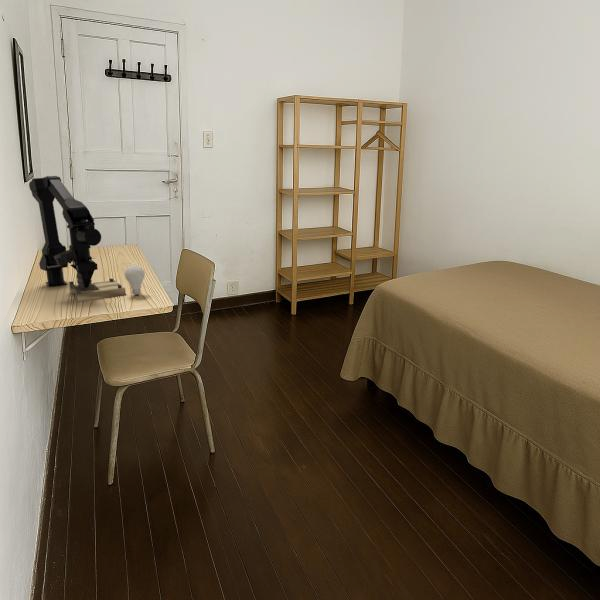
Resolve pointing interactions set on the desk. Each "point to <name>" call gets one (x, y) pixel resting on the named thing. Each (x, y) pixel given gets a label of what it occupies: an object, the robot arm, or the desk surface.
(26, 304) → the desk surface
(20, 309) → the desk surface
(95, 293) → the wooden handle frame
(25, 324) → the desk surface
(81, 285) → the stacked grey discs
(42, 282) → the desk surface
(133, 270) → the light bulb
